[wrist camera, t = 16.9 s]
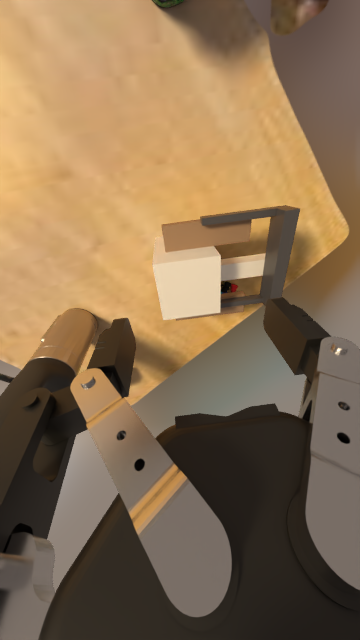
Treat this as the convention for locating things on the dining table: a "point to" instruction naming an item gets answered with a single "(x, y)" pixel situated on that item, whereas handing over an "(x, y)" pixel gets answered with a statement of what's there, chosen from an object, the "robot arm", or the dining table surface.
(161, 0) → the decorative ornament
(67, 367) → the robot arm
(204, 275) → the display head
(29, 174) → the dining table surface
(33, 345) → the dining table surface
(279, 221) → the grey u-shaped bracket
